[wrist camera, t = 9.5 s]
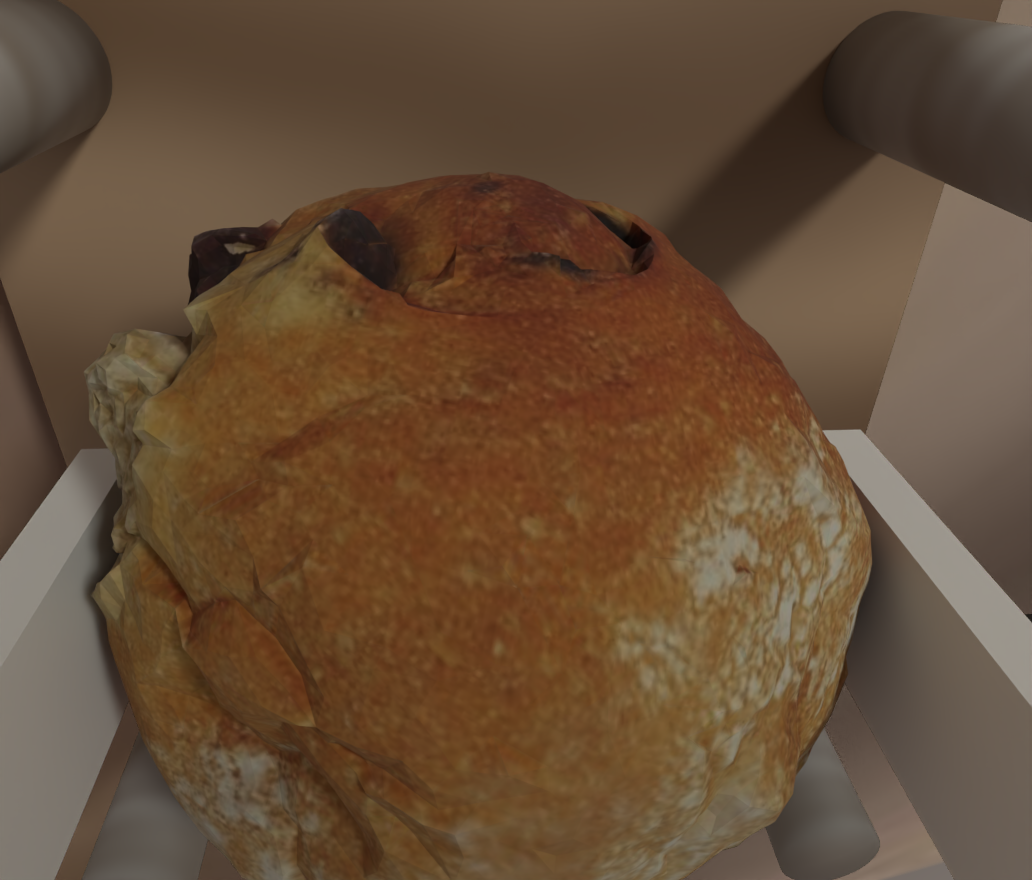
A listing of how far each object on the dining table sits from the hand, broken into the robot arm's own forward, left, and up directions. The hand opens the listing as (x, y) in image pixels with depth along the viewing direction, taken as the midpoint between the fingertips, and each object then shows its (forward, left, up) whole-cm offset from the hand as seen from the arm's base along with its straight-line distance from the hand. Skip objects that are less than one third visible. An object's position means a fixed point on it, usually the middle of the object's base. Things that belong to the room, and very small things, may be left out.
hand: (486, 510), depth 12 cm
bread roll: (0, 0, -1) cm, 1 cm away
